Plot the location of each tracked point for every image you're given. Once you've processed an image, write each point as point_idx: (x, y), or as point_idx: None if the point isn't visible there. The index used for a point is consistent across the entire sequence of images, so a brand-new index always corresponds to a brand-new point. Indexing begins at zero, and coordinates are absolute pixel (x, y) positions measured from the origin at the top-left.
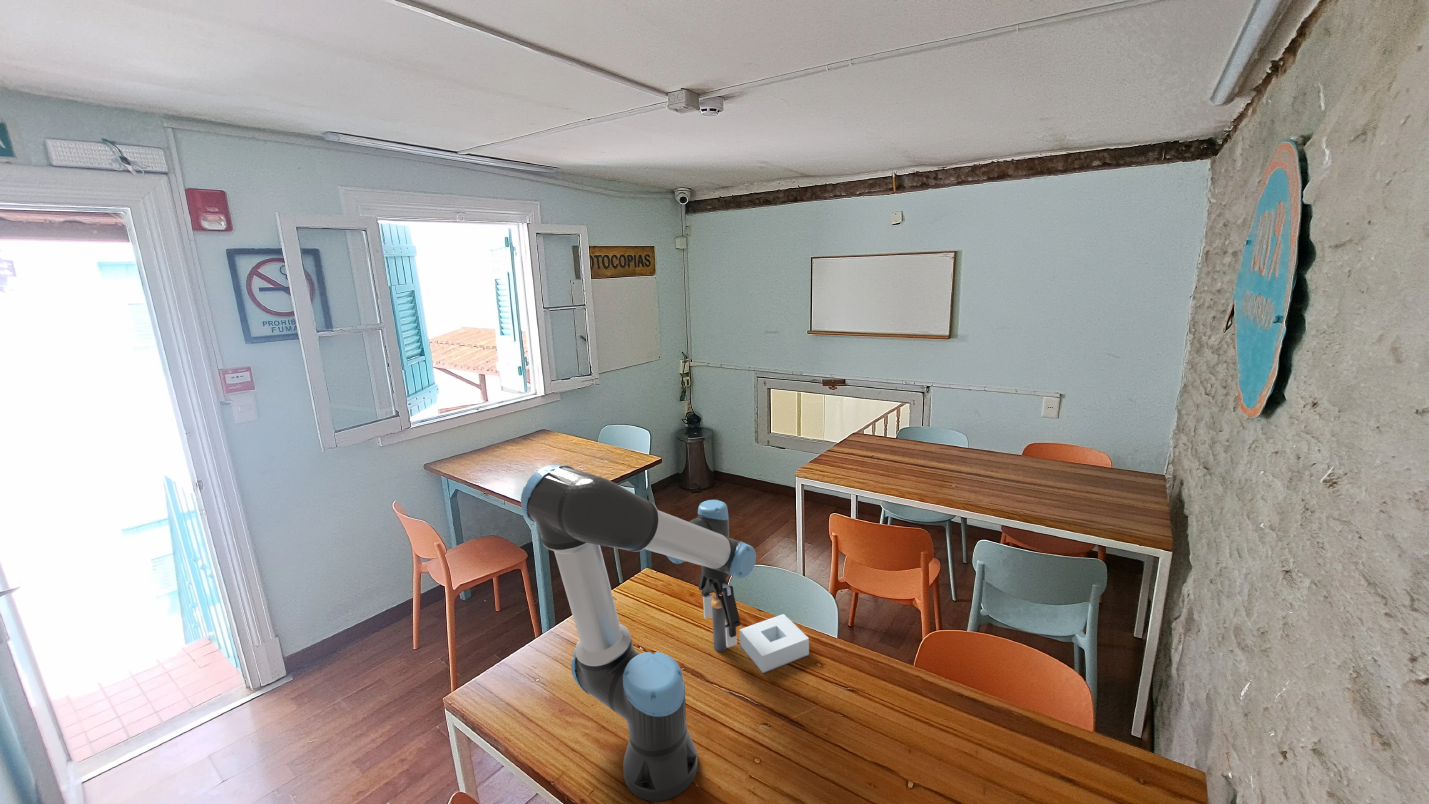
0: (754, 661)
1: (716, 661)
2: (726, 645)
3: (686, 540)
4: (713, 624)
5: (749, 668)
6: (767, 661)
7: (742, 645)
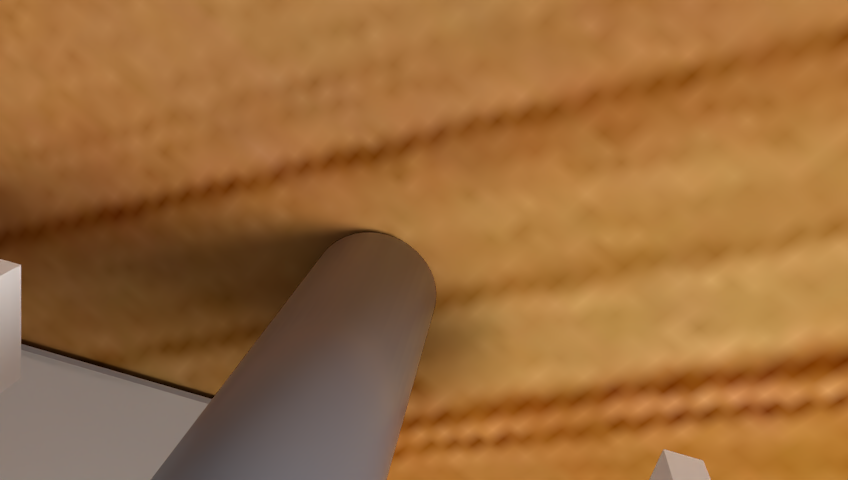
0: None
1: (244, 137)
2: (5, 268)
3: None
4: (280, 410)
5: None
6: None
7: None
